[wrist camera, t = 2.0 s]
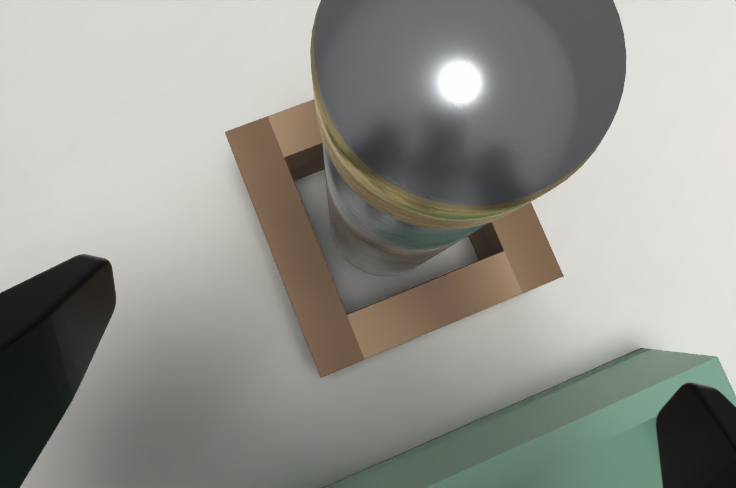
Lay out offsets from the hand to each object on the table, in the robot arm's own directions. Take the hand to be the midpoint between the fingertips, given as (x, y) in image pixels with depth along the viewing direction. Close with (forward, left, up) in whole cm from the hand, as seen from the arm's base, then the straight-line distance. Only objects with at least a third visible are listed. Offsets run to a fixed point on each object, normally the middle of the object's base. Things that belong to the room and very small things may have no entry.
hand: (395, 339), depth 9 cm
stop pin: (+2, +3, -11) cm, 12 cm away
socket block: (+2, +3, -11) cm, 12 cm away
